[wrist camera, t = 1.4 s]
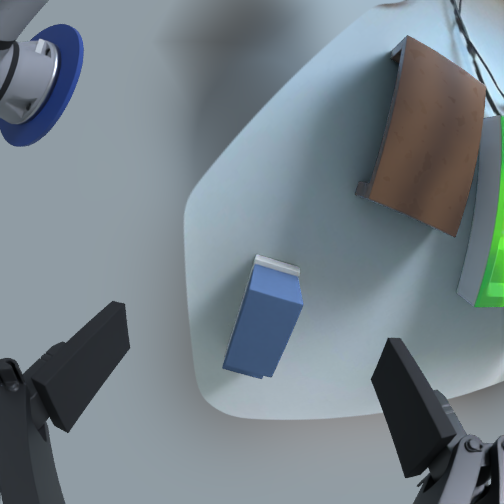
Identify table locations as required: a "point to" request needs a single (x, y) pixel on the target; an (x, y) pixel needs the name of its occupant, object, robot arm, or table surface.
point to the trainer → (264, 318)
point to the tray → (487, 224)
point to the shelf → (428, 139)
